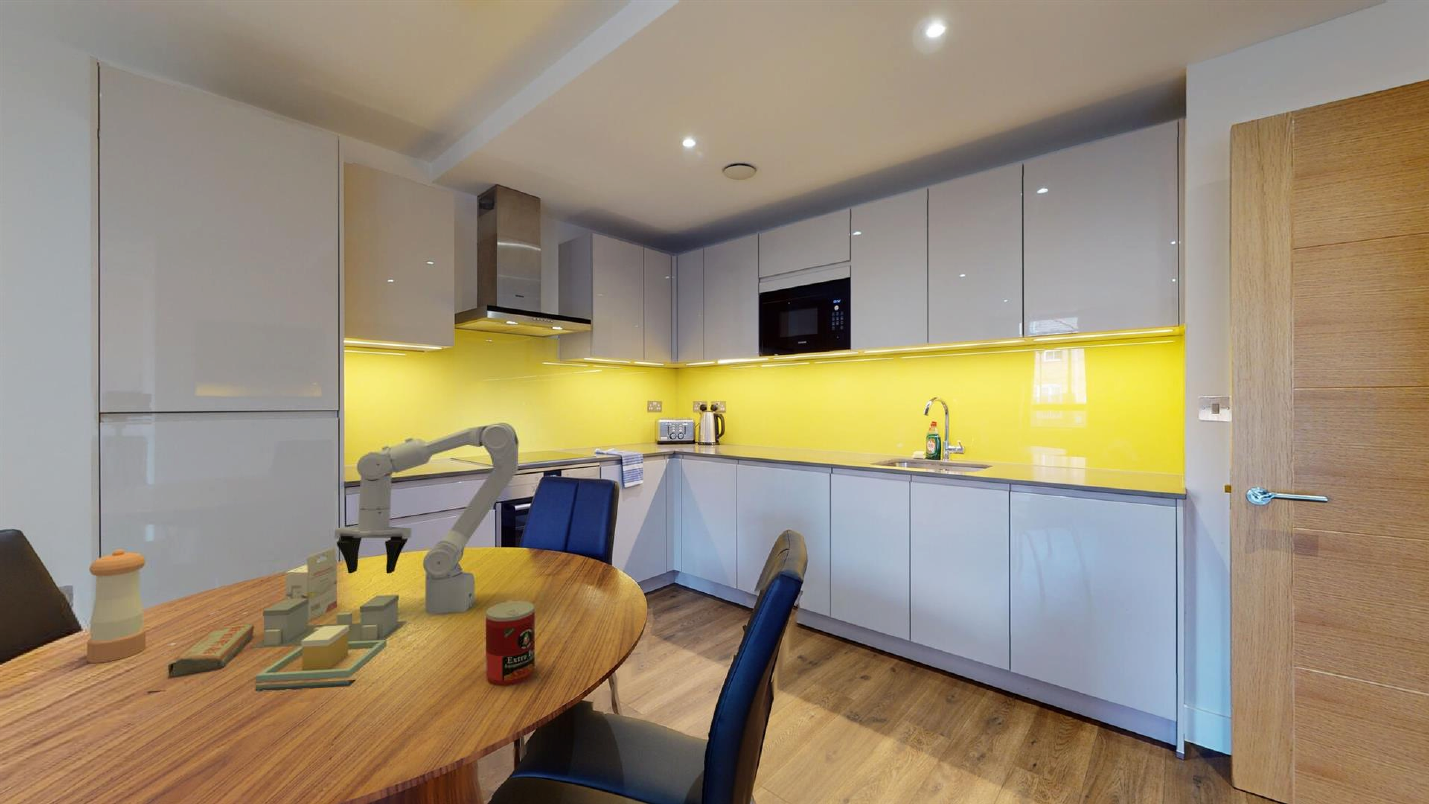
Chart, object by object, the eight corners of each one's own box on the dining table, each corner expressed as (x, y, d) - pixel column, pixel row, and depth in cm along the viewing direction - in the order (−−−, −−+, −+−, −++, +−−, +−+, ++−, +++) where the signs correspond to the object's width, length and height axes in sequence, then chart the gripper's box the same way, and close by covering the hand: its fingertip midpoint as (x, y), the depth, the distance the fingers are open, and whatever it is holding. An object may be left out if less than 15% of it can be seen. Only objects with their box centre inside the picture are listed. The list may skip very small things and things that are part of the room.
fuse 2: (398, 624, 109) (398, 594, 110) (383, 637, 103) (383, 605, 103) (376, 625, 109) (376, 595, 109) (359, 638, 103) (359, 606, 103)
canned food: (506, 690, 86) (506, 620, 86) (475, 678, 90) (475, 611, 90) (545, 671, 92) (544, 605, 93) (514, 660, 97) (514, 597, 97)
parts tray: (386, 653, 100) (386, 639, 100) (349, 686, 88) (349, 670, 88) (304, 657, 98) (304, 643, 98) (255, 691, 86) (255, 675, 86)
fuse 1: (308, 628, 108) (308, 598, 108) (287, 642, 102) (287, 609, 102) (285, 630, 107) (285, 599, 107) (262, 643, 101) (263, 610, 101)
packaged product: (201, 625, 102) (266, 617, 106) (200, 651, 102) (266, 642, 106) (145, 666, 86) (225, 655, 90) (145, 697, 86) (225, 684, 90)
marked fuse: (349, 659, 96) (349, 625, 96) (328, 675, 90) (328, 639, 90) (323, 660, 96) (323, 626, 96) (300, 677, 90) (301, 640, 90)
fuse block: (407, 628, 111) (407, 608, 111) (383, 649, 101) (383, 627, 102) (287, 634, 109) (287, 613, 109) (249, 656, 99) (250, 634, 99)
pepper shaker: (132, 643, 105) (133, 544, 106) (154, 648, 103) (155, 546, 103) (77, 659, 98) (79, 553, 99) (100, 665, 96) (102, 556, 96)
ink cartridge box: (315, 613, 120) (316, 546, 121) (337, 613, 120) (338, 546, 121) (284, 628, 112) (284, 557, 112) (308, 628, 112) (308, 556, 112)
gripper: (327, 510, 111) (323, 577, 111) (401, 511, 113) (398, 577, 112) (346, 505, 118) (343, 568, 118) (416, 506, 120) (413, 568, 119)
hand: (371, 572), depth 115 cm, fingers open, 7 cm apart
